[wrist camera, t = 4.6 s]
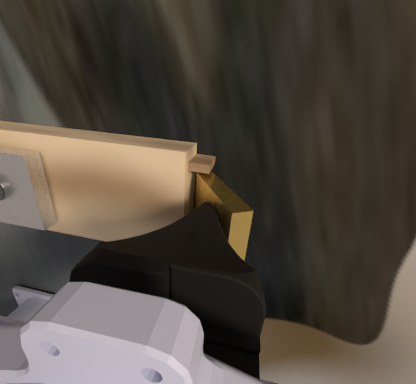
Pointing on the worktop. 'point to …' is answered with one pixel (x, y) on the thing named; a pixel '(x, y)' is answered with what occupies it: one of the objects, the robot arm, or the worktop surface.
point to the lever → (226, 210)
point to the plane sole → (111, 178)
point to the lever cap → (24, 190)
